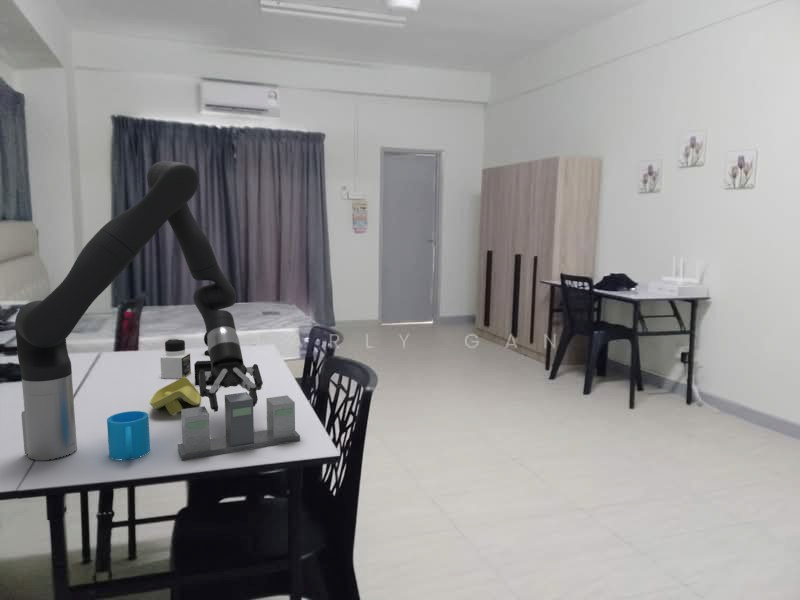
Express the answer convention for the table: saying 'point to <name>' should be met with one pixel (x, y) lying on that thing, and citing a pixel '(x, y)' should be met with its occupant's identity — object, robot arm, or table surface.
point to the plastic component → (176, 396)
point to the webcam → (206, 343)
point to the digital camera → (206, 367)
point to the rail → (201, 445)
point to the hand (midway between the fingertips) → (235, 407)
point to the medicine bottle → (175, 360)
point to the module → (239, 418)
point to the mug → (128, 435)
